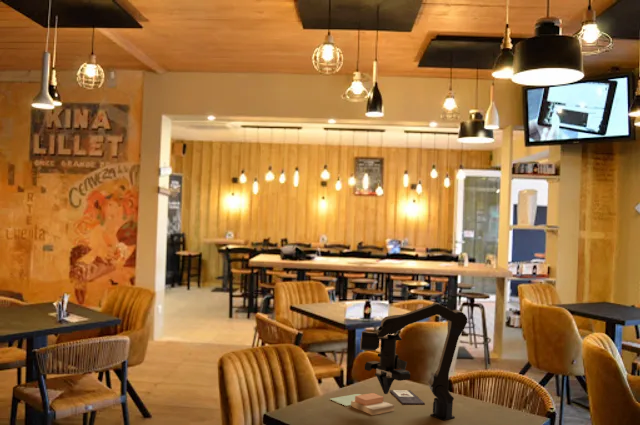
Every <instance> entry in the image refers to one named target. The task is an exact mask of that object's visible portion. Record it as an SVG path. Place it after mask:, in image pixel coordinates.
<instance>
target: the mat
mask: <svg viewBox="0 0 640 425" xmlns="http://www.w3.org/2000/svg"><path fill="white" fill-rule="evenodd" d="M358 395H361V394H360V393H355V394H350V395H349V394H348V395H343V396H337V397H331V398H329V401H331V400H332V401H331V402H333V403H337V404H339V405H341V404H342V406H343V405H344V407H346V406H347V407H351V401H354V400H355V396H358Z"/></svg>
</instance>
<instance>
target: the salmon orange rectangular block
mask: <svg viewBox="0 0 640 425" xmlns="http://www.w3.org/2000/svg"><path fill="white" fill-rule="evenodd" d="M383 401H384V396H382V395H379V394H377V393H374V392H371V393H364V394H360V395H358V396H355V402H358V403H360V404H363V405H365V406H366V405H371V404H377V403H382V402H383Z"/></svg>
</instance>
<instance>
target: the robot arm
mask: <svg viewBox="0 0 640 425" xmlns="http://www.w3.org/2000/svg"><path fill="white" fill-rule="evenodd" d="M434 316H440V317H441V318H444V319H446V320H447V332H446V333H447V334H446V338H445V341H444V344H443V349H442V351H441V356H440V359H439V363H438V365H437V366H438V367H437V370H436V371H435V372H432V371H431V372H430V377H429V380H428V384H429V386H428V387H429V389H430V391H431V393H432V395H433V396H434V397H435V398H433V403H432V413H430V416H431V417H433V418H436V419H439V420H441V421H446V420H451V419H455V417H456V416H455V415H453V404H454V403H453V402H454V399H455V398H454V396H453V395H452V393H451V392H450V390H449V384H450V383H449V382H450V380H449V379H450V378H449V374H450V370H451V366H452V363H453V359H454V355H455V352H456V349H457V345H458V340H459V338H460V336H461V334H462V333H463V331H464V330H465V329H466V328H465V327H466V326H467V323H468V317H467V315H466V314H465V313H464V312H463V311H461V310H459V309H451V308H449V307H446V306H444V305H442V304H440V303H439V302H433V303H431V304H429V305H426V306H423V307H421V308H418V309H414V310H412V311H409V312H406V313H403V314H394V315H393V314H392V315H388V316H385V317H383V318H382V320H381V323H380V326H378V328H377V329H376V330H375V331H374V332H373V331H365V330H362V331H361V336H360V337H361V338H360V345H359V347H360V349H359V350H360V351H374V352H375V351H377V350H378V349H379V348H380V349H379V353H377V357H378V358H379V361H378V360H377V361H376V360H372V361H366V362H365V364H364V370H365V371H368V372H370V371H372V370H376V371H375V372H376V373H374V375H375V376H376V378H377V380H378V382H379V385H380V387H381V389H382V391H383V394H384V395H388V394H389V393H390V390H391V387H392V384H393V382H394V381H399V382H400V381H407V380H411V372H410V371H409V370H406V368H407V364H408V361H405V360H402V359H400V358H399V354H397V341H403V338H402V336H400V335H399V333H398V332H399V331H401V330H402V329H404V328H405V327H407V326H408V325H412V324H414V323H417V322H420V321H423V320H425V319H428V318H431V317H434Z"/></svg>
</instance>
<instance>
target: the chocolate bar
mask: <svg viewBox="0 0 640 425" xmlns="http://www.w3.org/2000/svg"><path fill="white" fill-rule="evenodd" d="M389 393H390V394H391V395H393V397H394V398H395V399H396V400H397V401H398V402H400V404H401V405H405V406H407V405H410V406H411V405H412V406H414V405H419V406H420V405H421V406H422V405H425V404H426V403H425V402H424V401H423V399H421V398H420V397H418V396H417V395H416V394H415V393H414V392H413V391H412V390H411V389H410V390H402V389H398V390H397V389H396V390H395V389H389Z"/></svg>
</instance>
